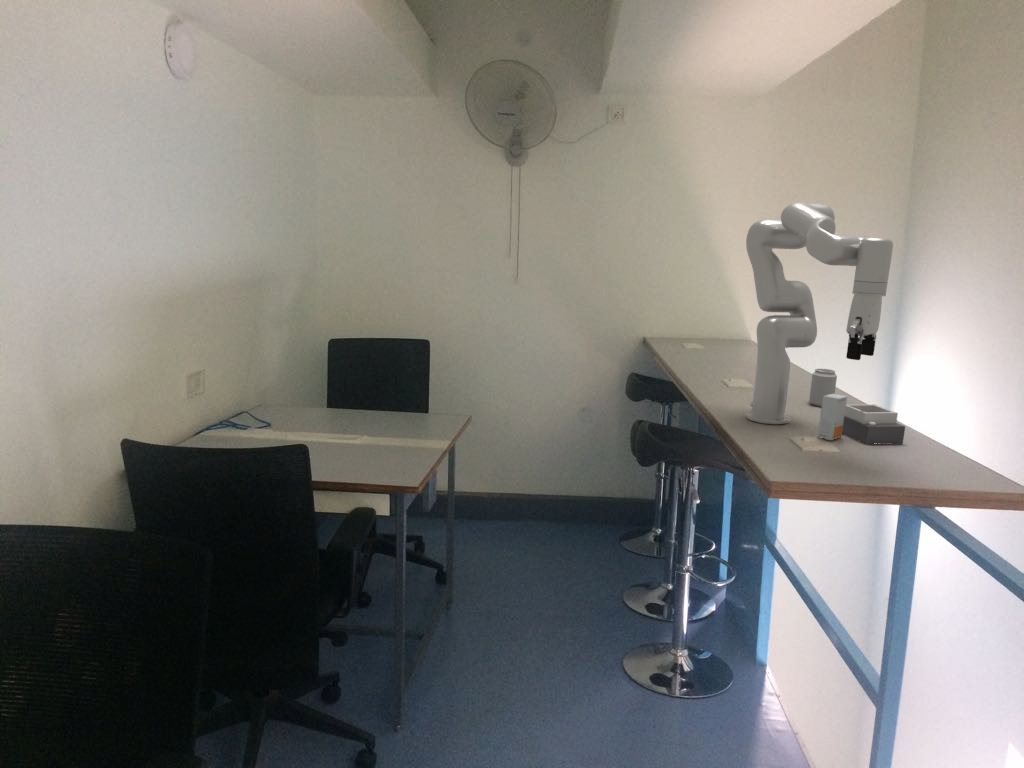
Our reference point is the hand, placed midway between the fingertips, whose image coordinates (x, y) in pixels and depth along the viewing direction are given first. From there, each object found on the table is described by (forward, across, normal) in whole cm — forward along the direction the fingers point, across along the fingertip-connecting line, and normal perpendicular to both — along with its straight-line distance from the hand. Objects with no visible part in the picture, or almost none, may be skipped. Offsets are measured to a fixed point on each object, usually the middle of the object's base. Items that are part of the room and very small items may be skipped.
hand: (859, 357), depth 188 cm
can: (+26, -53, -26) cm, 65 cm away
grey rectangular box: (+26, -23, -2) cm, 35 cm away
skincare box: (+26, -13, -9) cm, 30 cm away
